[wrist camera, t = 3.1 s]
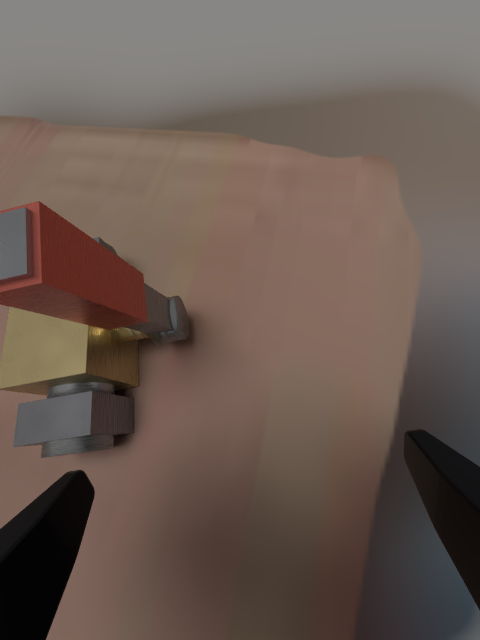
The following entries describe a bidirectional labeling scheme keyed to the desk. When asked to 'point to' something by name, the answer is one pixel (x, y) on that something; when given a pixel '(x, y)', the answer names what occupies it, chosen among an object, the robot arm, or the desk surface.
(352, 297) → the desk surface
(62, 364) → the valve
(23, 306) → the lever
